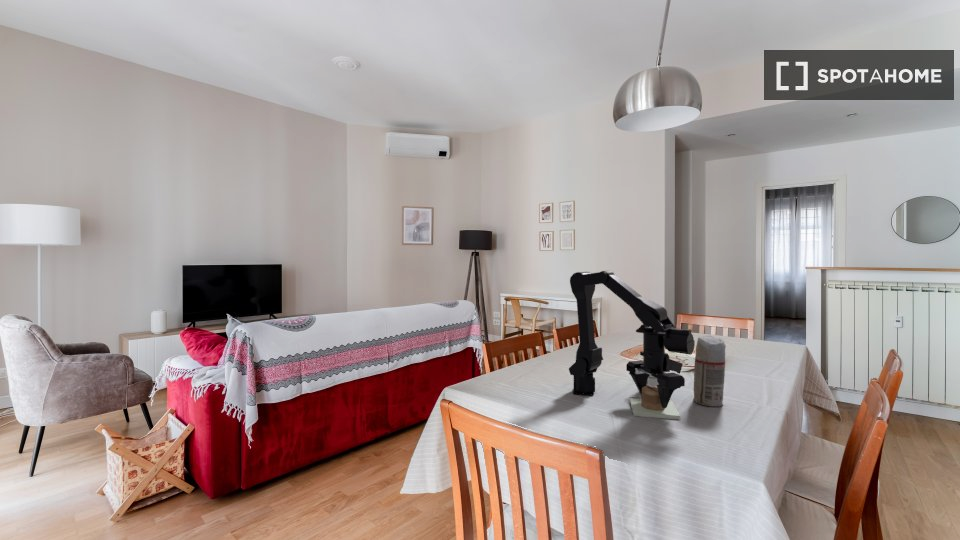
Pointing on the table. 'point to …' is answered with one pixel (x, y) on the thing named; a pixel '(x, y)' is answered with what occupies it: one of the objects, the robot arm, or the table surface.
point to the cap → (651, 398)
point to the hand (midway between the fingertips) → (653, 402)
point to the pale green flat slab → (641, 411)
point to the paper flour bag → (709, 371)
